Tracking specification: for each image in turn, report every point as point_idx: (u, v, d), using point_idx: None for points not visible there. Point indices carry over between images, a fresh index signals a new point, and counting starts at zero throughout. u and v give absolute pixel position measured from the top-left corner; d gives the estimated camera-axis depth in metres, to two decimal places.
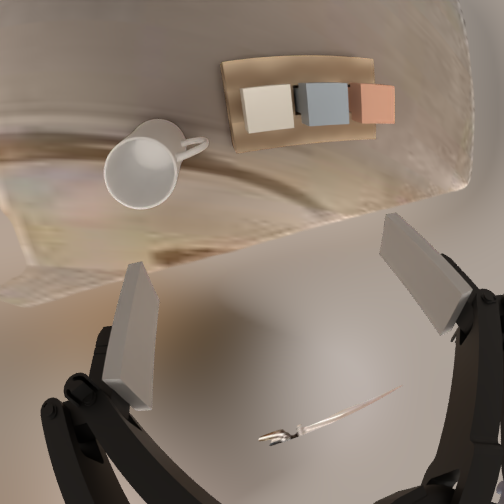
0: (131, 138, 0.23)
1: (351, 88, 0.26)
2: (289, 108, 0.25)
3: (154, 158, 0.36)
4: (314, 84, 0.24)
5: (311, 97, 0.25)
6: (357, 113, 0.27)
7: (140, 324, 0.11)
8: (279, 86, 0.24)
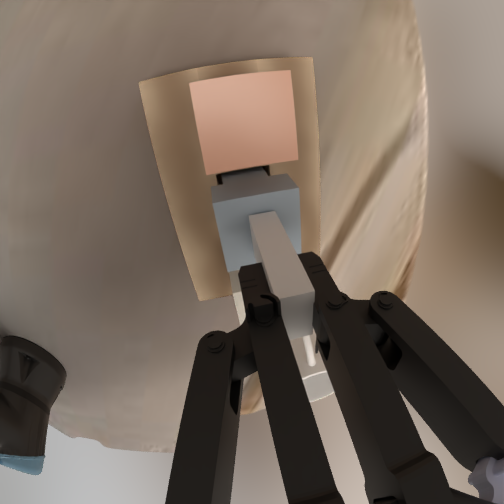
0: None
1: None
2: None
3: None
4: (227, 259, 0.17)
5: (251, 261, 0.17)
6: None
7: None
8: (237, 304, 0.19)
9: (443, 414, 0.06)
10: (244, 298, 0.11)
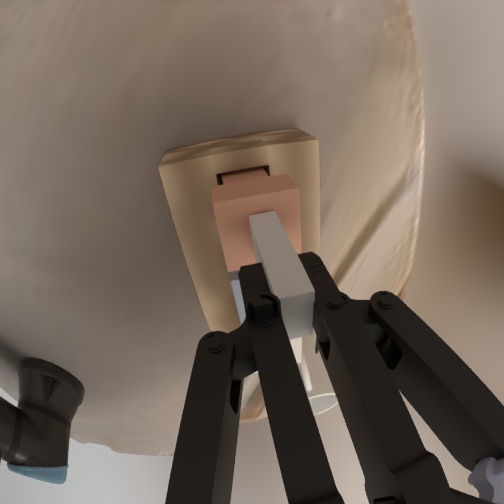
0: None
1: None
2: None
3: None
4: (241, 316, 0.22)
5: None
6: None
7: None
8: None
9: (443, 414, 0.06)
10: (244, 298, 0.11)
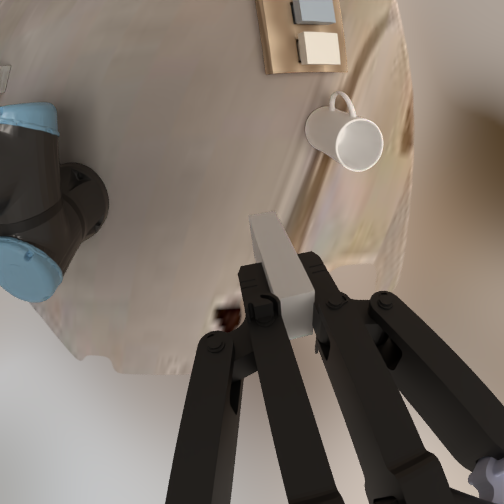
0: (336, 145, 0.34)
1: None
2: (322, 34, 0.26)
3: None
4: (302, 14, 0.25)
5: (313, 18, 0.25)
6: None
7: None
8: (305, 38, 0.27)
9: (443, 414, 0.06)
10: (244, 298, 0.11)
